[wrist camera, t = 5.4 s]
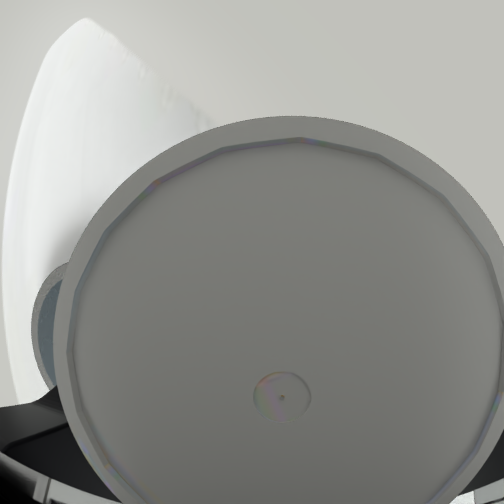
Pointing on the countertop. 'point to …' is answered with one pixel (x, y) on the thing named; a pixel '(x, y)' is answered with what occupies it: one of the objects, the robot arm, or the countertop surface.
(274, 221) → the bottle
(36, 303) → the platter
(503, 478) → the robot arm
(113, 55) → the countertop surface
